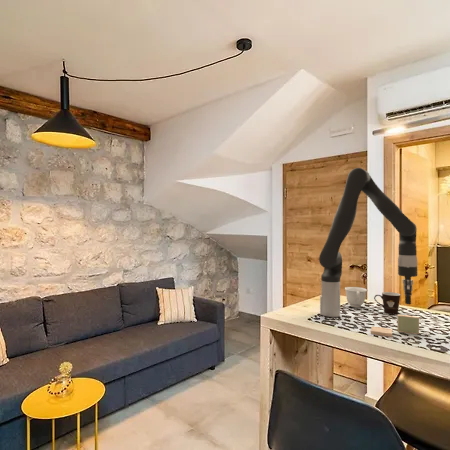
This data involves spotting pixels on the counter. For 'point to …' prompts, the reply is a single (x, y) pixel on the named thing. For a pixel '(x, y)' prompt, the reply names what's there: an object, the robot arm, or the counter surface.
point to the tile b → (408, 324)
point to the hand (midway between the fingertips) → (408, 303)
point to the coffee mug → (390, 302)
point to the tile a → (381, 331)
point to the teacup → (355, 296)
